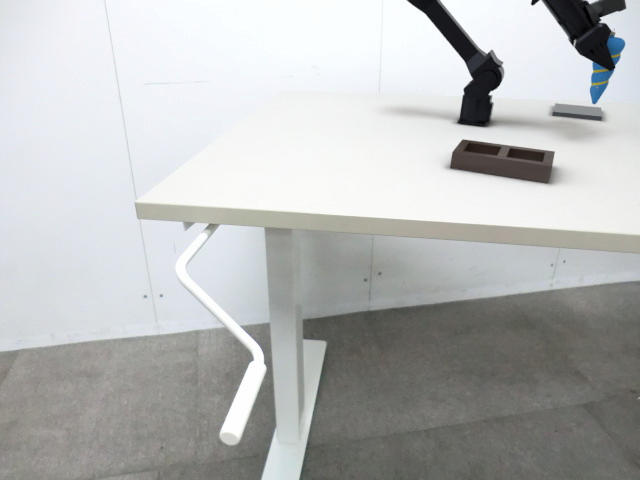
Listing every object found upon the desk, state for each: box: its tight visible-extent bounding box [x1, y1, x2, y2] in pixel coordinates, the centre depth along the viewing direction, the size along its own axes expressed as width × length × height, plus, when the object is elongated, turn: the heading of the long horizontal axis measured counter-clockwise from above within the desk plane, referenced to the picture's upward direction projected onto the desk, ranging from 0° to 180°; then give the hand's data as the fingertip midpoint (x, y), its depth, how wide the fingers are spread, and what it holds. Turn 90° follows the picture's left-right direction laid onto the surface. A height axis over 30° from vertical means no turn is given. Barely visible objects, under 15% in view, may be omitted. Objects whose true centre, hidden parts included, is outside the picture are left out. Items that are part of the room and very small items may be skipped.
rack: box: [449, 138, 556, 184], centre depth 85 cm, size 9×16×3 cm, turn 64°
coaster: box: [552, 102, 603, 122], centre depth 123 cm, size 11×11×1 cm
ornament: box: [589, 28, 626, 105], centre depth 100 cm, size 5×5×15 cm
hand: (611, 67), depth 100 cm, fingers closed on ornament, 5 cm apart
